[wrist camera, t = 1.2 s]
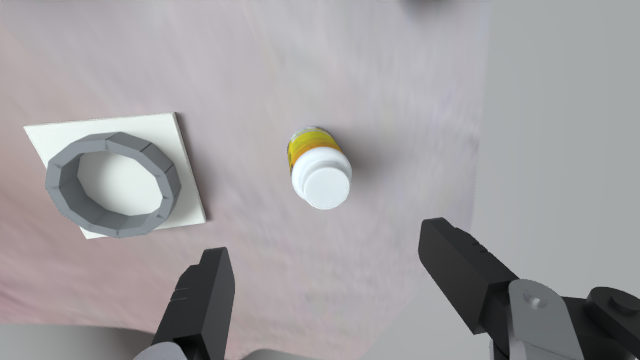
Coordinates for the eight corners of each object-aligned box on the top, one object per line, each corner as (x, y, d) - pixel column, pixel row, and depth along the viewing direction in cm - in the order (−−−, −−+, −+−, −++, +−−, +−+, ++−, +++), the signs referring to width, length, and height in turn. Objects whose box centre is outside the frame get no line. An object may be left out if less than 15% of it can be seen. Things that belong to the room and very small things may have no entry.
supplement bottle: (278, 137, 30) (281, 176, 21) (323, 116, 29) (347, 146, 20) (299, 178, 32) (310, 227, 23) (340, 159, 32) (368, 201, 23)
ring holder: (30, 124, 25) (-4, 134, 22) (174, 112, 27) (161, 119, 24) (90, 234, 31) (70, 255, 28) (206, 218, 33) (199, 236, 29)
